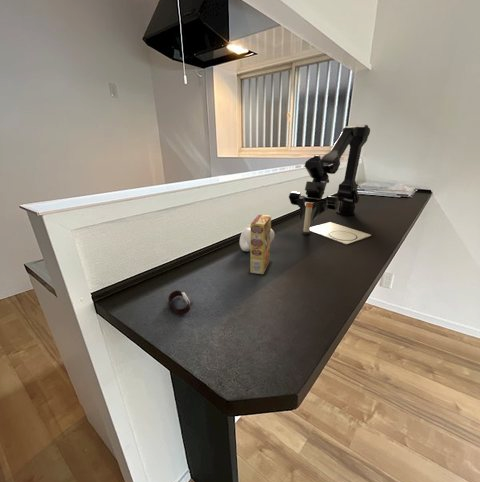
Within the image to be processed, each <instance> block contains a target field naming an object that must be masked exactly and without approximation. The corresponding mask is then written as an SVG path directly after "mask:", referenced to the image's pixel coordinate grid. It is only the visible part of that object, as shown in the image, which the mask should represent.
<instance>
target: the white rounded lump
mask: <svg viewBox="0 0 480 482" xmlns="http://www.w3.org/2000/svg"><path fill="white" fill-rule="evenodd" d="M274 239H275V231H274V230H273V229H272V228H271V233H270V244H272V242H273V241H274ZM239 247H240V249H241V250H242V251H243V252H245V253H248V252H251V223H249V224H247V225H246V226H245V227H244V228H243V230H242V231H241V233H240V236H239Z"/></svg>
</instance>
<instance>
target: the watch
mask: <svg viewBox="0 0 480 482" xmlns="http://www.w3.org/2000/svg"><path fill="white" fill-rule="evenodd" d="M177 297H182V298H183V299H184V302H186V304H187V306H185V307H183V308H176V307H174V306H173V304H172V301H173V300H174V299H175V298H177ZM167 302H168V305H169V307H170V309H171V311H173V312H174V313H175V314H178V315H185V314H187V313H189V312H190V310H191V301H190V298H189V297H188V296H187V293H185V291H183V292H182V291H181V290H174V291H172V292H171V293H170V294H169V295H168V298H167Z"/></svg>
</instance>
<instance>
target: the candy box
mask: <svg viewBox="0 0 480 482" xmlns="http://www.w3.org/2000/svg"><path fill="white" fill-rule="evenodd" d="M250 224H251V251H250V265H249V266H250V274H258V275H264V274H265V271H266V270H267V268H268V266H269V264H270V261H271V260H270V258H271V255H270V254H271V243H270V233H271V229H272V215H267V214H258V215H257V216H256V217H255V218H254V219H253V220H252V222H251V223H250Z"/></svg>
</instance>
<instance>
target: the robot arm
mask: <svg viewBox="0 0 480 482" xmlns="http://www.w3.org/2000/svg"><path fill="white" fill-rule="evenodd" d="M370 133H371V128H370V127H369V125H368V124H353V125H350V126H349V125H348V126H347V125H346V126H344V127H343V128H342V131H341V133H340V135H339V137H338V138H337V140H336V141H335V143H334V145H333V146H332V148H331V149H330V151H329V152H327V153H325V154H324V155H323V156H322V157H321V155H319V154H315V155H313V157H311V158H309V159H307V160H306V161H305V163H304V167H305V169H306V172H307V173H308V175H309V177H310V178H311V179H312V181H309V180H307V181H306V183H305V187H304V191H305V195H306V196H305V195H302V193H301V192H300V191H299V192H297V191H291V192H290V193H289V194H288V200H289V202H290V204H291V205H294V206H297V207H298V208H299V218H300V220H302V219H303V216H304V215H305V211H306V203H312V204H316V205H317V207H316V209H315V211H314V214H313V216H312V218H311V221H313V222H314V221H315V220H316V219H317V218H318V217H319V216H320V215H322V214H323V213H324V212H325V211H326V212H327V211H328V210H329V211H336V214H339V215H343V216H347V217H348V216H351V215H354V214H356V213H355V209H356V204H358V203H359V201H360V196H359V192H358V184H357V181H356V178H357V173H358V169H359V168H358V167H359V163H360V158H361V153H362V149H363V147H364V145H366V143H367V141H368V138H369V136H370ZM348 146H349V151H348V156H347V161H346V168H345V174H344V178H343V181H342V182H341V183H339V184H338V189H337V192H336V195H335V196H333V195H326V198H323V196H324V194H325V190H326V187H327V184H329V183H330V176H329V175H334V174H336V173H337V172H338V170H339V168H340V165H341V158H342V156H343V154H344V153H345V152H346V150H347V148H348Z"/></svg>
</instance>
